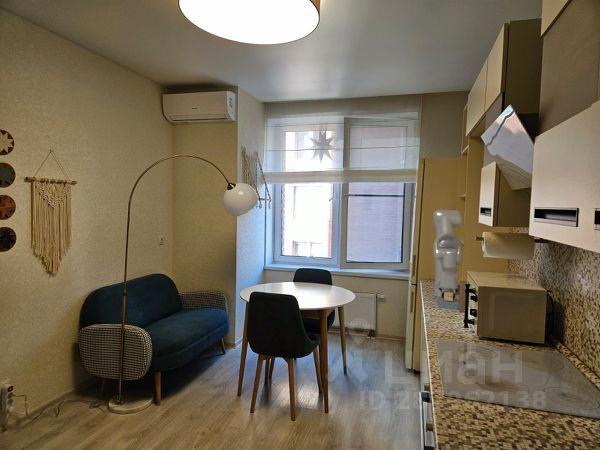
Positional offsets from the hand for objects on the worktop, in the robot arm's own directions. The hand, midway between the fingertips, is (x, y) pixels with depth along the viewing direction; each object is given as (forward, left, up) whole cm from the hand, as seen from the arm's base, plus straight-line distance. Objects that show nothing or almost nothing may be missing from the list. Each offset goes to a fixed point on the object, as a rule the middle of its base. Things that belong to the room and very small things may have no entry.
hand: (448, 298), depth 230 cm
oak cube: (0, 0, -1) cm, 1 cm away
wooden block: (+9, +10, -5) cm, 14 cm away
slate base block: (0, 0, -5) cm, 5 cm away
